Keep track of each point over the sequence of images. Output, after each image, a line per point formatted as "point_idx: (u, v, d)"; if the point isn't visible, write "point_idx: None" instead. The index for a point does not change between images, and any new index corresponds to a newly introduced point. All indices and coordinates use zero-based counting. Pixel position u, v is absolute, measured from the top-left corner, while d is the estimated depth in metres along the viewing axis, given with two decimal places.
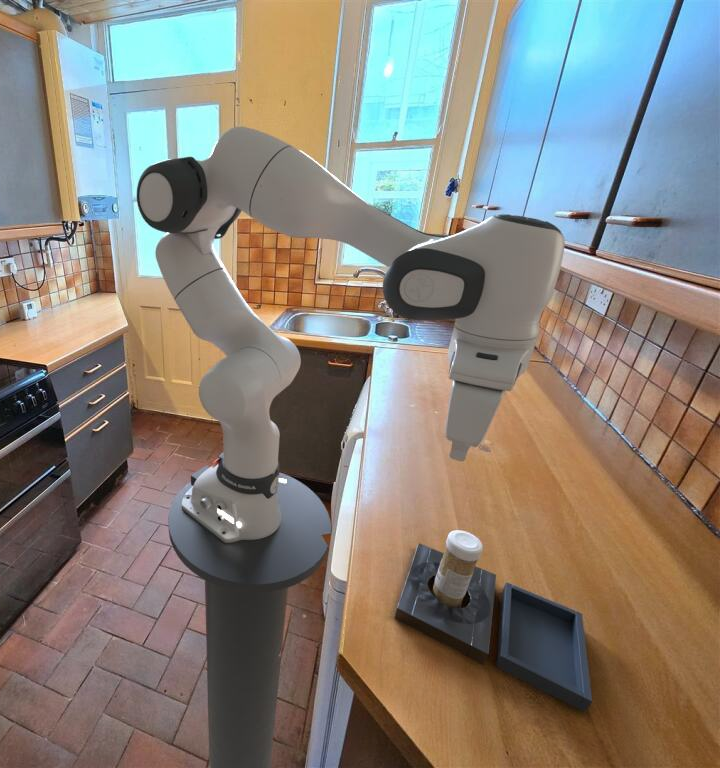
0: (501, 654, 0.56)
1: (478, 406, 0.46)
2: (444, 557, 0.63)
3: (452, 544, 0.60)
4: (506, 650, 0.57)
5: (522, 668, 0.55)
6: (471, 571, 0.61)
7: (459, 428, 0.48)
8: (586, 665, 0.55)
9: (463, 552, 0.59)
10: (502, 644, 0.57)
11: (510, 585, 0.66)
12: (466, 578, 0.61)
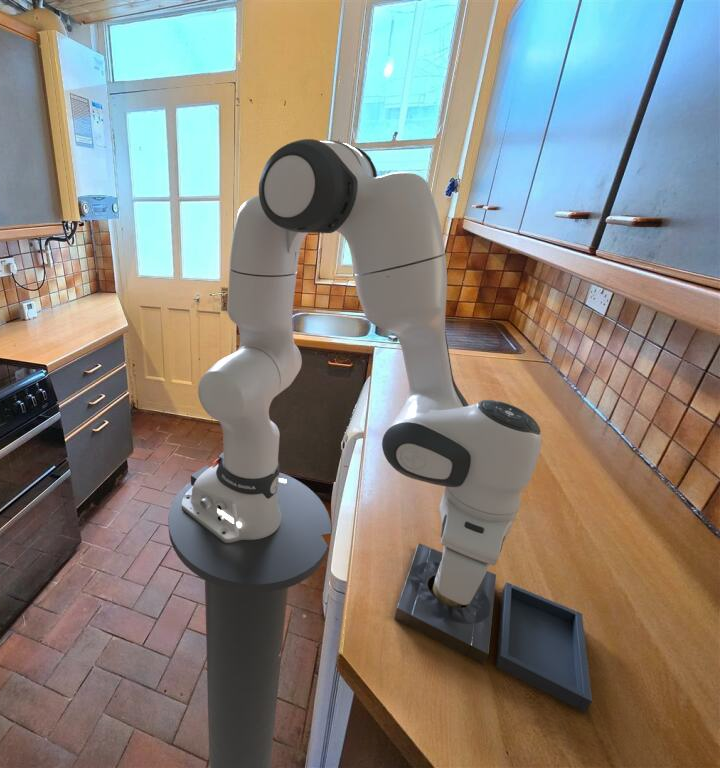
0: (501, 654, 0.56)
1: (466, 574, 0.53)
2: None
3: None
4: (506, 650, 0.57)
5: (522, 668, 0.55)
6: None
7: (450, 589, 0.54)
8: (586, 665, 0.55)
9: None
10: (502, 644, 0.57)
11: (510, 585, 0.66)
12: None
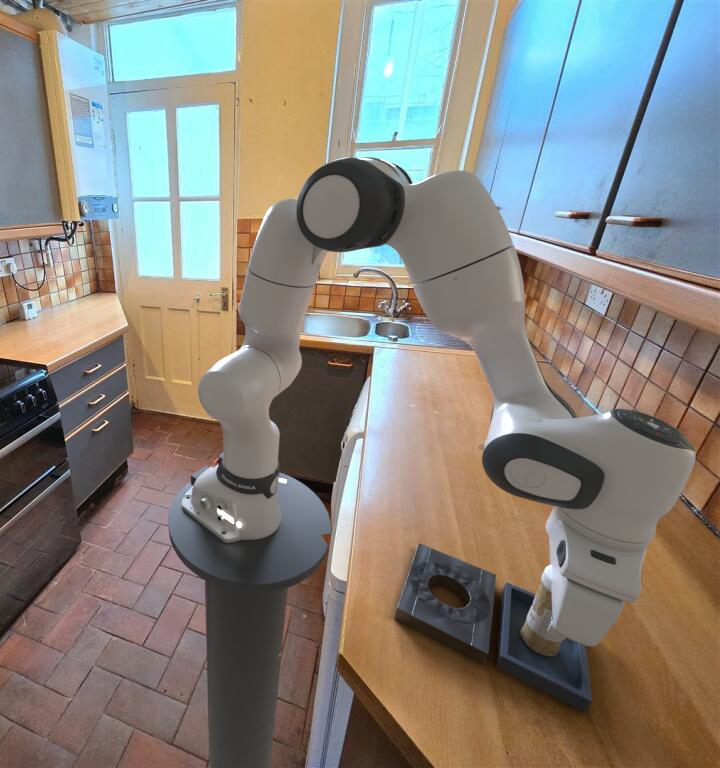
0: (501, 654, 0.56)
1: (596, 612, 0.45)
2: (540, 595, 0.56)
3: (551, 582, 0.54)
4: (506, 650, 0.57)
5: (522, 668, 0.55)
6: None
7: (571, 628, 0.47)
8: (586, 665, 0.55)
9: None
10: (502, 644, 0.57)
11: (510, 585, 0.66)
12: None
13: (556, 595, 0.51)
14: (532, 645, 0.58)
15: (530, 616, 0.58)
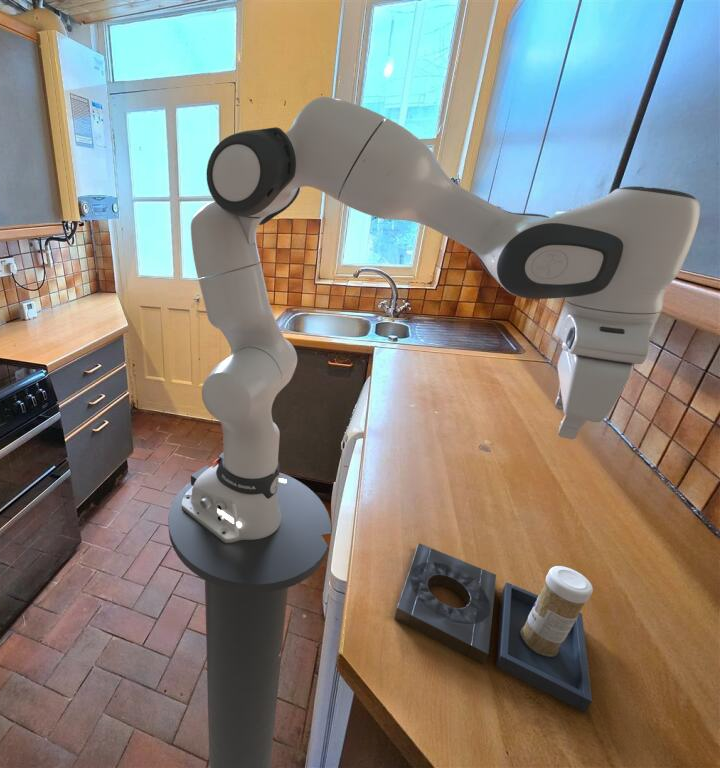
0: (501, 654, 0.56)
1: (606, 379, 0.46)
2: (543, 596, 0.56)
3: (556, 583, 0.54)
4: (506, 650, 0.57)
5: (522, 668, 0.55)
6: (577, 613, 0.54)
7: (582, 403, 0.48)
8: (586, 665, 0.55)
9: (571, 593, 0.52)
10: (502, 644, 0.57)
11: (510, 585, 0.66)
12: (571, 621, 0.54)
13: (566, 389, 0.52)
14: (532, 645, 0.58)
15: (532, 617, 0.58)
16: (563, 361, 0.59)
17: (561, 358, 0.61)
